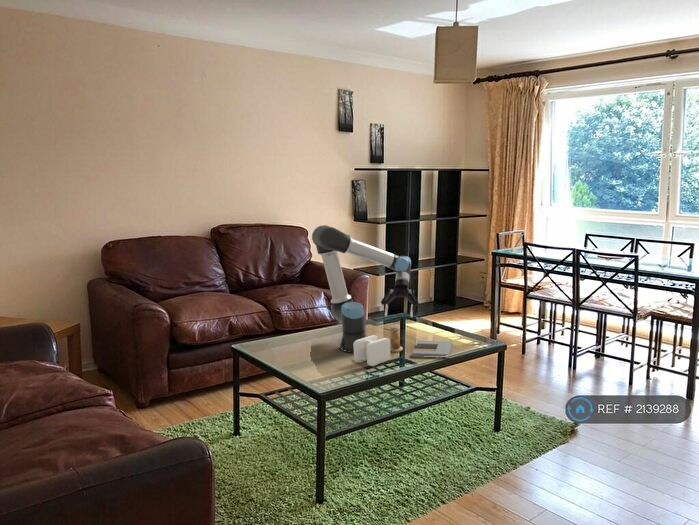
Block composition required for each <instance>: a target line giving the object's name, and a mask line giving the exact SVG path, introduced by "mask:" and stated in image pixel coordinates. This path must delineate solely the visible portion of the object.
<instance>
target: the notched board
mask: <svg viewBox="0 0 699 525" xmlns="http://www.w3.org/2000/svg"><path fill="white" fill-rule="evenodd" d="M453 343H454V342H453V341H439V340H435V341H434V340H432V341H431V340H430V341H429V340H418V341H416V348H429V349H430V348H431V349H432V348H433V349H434V348H435V350H415V349H414V350H412V353H411V358H424V356H446V355H449V354H450V352H452V350H451V349H453V347H452V346H453V345H454V344H453ZM450 355H451V354H450Z"/></svg>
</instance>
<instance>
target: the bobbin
mask: <svg viewBox="0 0 699 525" xmlns="http://www.w3.org/2000/svg"><path fill="white" fill-rule="evenodd" d="M389 329H390V353H400V352H402V351H403V346H401V342H400V341H401V336H400V333H401V332H400V326H397V325H394V326H393V325H392V326H390V328H389Z"/></svg>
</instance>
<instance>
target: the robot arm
mask: <svg viewBox="0 0 699 525" xmlns="http://www.w3.org/2000/svg"><path fill="white" fill-rule="evenodd" d="M311 240H312V243H313V244H314V245H315V248H316V252H317V254H318V255H319V256H321V259H322V263H323V267H324V270H325V274H326V277H327V282H328V286H329V290H330V294H331V297H332V298H331V300H330V304H331V306H330V313H331V315H332V317H333V318H334V319H335V320H336V321H337V322H339V323H341V326H342V336H341V339H340V343H339V345H340V346H339V347H341V348H342V349H343V350H346V351H351V352H350V353H354V346H353V344H354V342H355V341H356V340H358V339H362V338H365V337H367V334H366V326H365V322H366V321H365V310H364V306H363V304H362V303H360V302H356V301H353V297H352V295H351V294H349V293H348V289H347V285H346V280H345V278H344V273H343V269H342V266H341V261H340V258H339V253H342V254H346V253H348V254H350V255H353V256H356V257H359V258H362V259H365V260H367V261H370V262H373V263H376V264H378V265H382V266H384V267H386V268H389V269H390V270H393V271H395V282H394V288H393V289H392V288H390V287H389V288H388V289H387V292H386V293H385V295H384V297H382V299H381V300H380V303H381V306H383V308H382V309H383V311H384V317H385V318H387V317H388V309H389V304H390V303H392V302H393V301H394V300H395V299H396V298H402V299H403V298H406V300H408V302H409V303H410V304H411V305H410V312H409V314H410V318H413V316H414V315H413V313H414V312H416V306H420V303H419V300H418V298H417V296H416V294H415V289H414V288H411V289H409V287H410V276H411V269H412V268H411V267H412V260H411V257H409V256H407V255H406V256H405V255H400V256H399V255H398V254H394V253H392V252H389V251H387V250H384V249H381V248H379V247H376V246H372V245H371V244H368V243H366V242H362V241H360V240H357V239H355V238H352V236H351V235H350V234H346V233H345V232H342V231H341V230H339V229H337V228H335V227H333V226H329V225H327V224H326V225H319V226H317V227H316V228H314V230H313V232H312V234H311ZM338 252H339V253H338ZM409 294H411V296H412V297H411V296H410V295H409ZM412 298H413V299H414V300H413V299H412Z"/></svg>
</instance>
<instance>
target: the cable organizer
mask: <svg viewBox="0 0 699 525" xmlns="http://www.w3.org/2000/svg"><path fill="white" fill-rule="evenodd" d="M353 346H354V352H353V360H354V362H356V363H361V364H362V363H364V362H366V363H367V365H368V366H371V367H375V366H377V365H379V364H381V363H382V364H383V363H385V362H388V360H390V358H391V352H390V347H391V339H389V338H388V337H382V338H380V339H379V336H377V335H375V334H372V335H368V336H366V337H365V338H362V339H358V340H356V341H355V342H354V344H353Z"/></svg>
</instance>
